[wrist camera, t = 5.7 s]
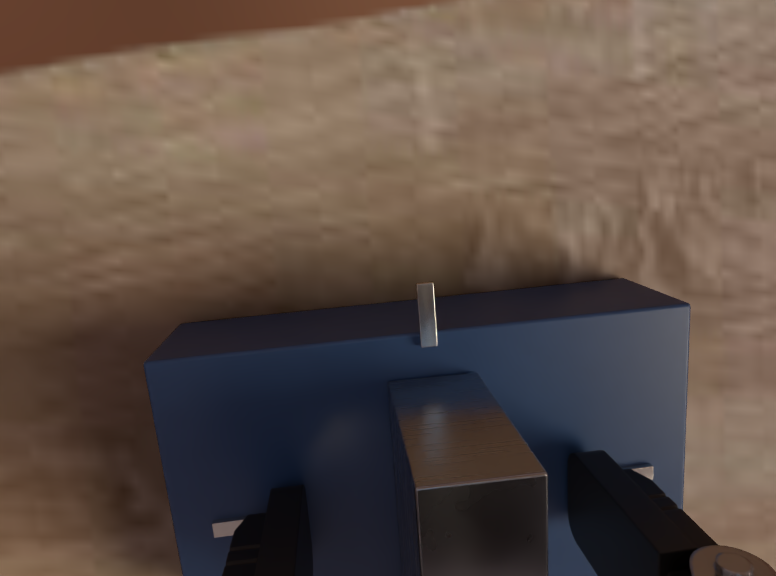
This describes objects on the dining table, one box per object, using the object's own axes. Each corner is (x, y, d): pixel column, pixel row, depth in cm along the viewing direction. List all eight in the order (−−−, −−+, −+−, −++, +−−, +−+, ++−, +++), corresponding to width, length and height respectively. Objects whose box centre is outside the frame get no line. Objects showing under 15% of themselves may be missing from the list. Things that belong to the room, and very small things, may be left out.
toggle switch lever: (386, 380, 12) (417, 498, 8) (477, 371, 12) (554, 481, 8) (404, 614, 14) (438, 825, 9) (486, 603, 14) (556, 805, 9)
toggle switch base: (624, 237, 15) (698, 255, 12) (621, 563, 18) (682, 647, 14) (172, 281, 14) (128, 313, 11) (229, 619, 17) (206, 723, 14)
